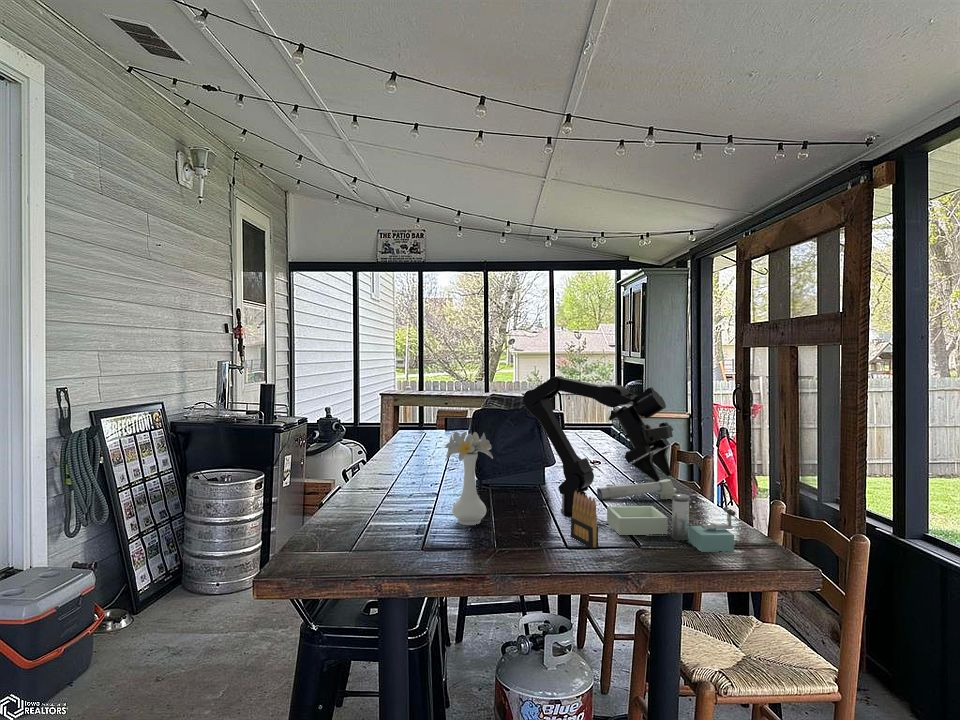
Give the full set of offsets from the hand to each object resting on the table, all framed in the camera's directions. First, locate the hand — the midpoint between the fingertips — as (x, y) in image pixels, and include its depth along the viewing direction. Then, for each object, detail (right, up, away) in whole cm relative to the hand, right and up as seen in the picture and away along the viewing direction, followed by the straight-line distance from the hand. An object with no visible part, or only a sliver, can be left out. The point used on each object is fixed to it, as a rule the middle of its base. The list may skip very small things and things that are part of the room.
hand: (664, 478), depth 181 cm
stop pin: (+2, -14, -10) cm, 17 cm away
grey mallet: (+1, -13, +34) cm, 37 cm away
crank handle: (+8, -10, -16) cm, 21 cm away
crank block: (+7, -14, -16) cm, 22 cm away
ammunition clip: (-23, -14, -13) cm, 30 cm away
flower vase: (-52, -13, +5) cm, 54 cm away
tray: (-8, -13, -1) cm, 15 cm away
